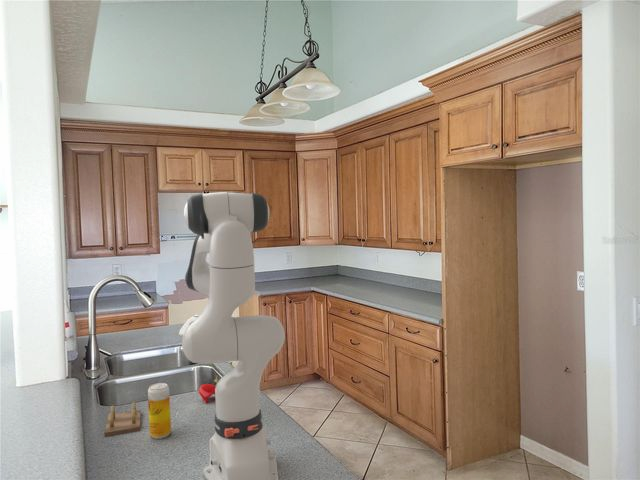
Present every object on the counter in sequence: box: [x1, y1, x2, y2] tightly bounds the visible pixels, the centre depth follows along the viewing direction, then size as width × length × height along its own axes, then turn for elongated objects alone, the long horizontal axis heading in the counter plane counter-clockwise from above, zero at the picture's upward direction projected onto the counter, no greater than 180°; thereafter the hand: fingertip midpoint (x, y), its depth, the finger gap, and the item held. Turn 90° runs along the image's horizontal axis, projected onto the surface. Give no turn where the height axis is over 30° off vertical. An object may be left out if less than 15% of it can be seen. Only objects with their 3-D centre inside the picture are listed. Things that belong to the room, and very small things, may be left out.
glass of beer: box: [147, 382, 172, 440], centre depth 142 cm, size 6×6×15 cm
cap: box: [198, 383, 216, 404], centre depth 169 cm, size 8×6×6 cm
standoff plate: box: [104, 402, 142, 437], centre depth 151 cm, size 14×10×5 cm
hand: (192, 353), depth 152 cm, fingers open, 8 cm apart
